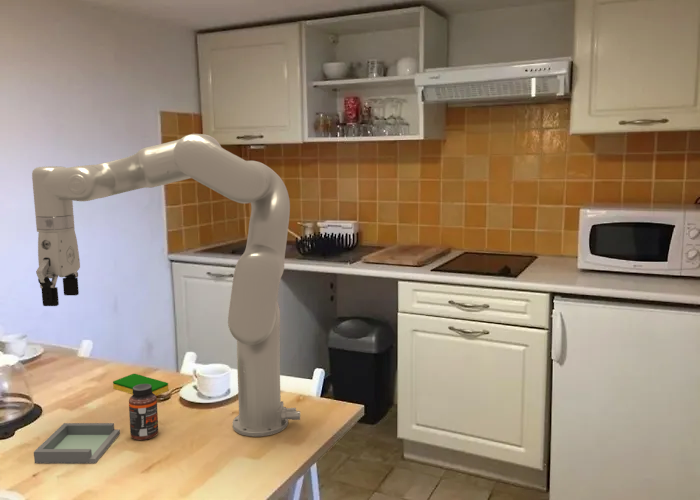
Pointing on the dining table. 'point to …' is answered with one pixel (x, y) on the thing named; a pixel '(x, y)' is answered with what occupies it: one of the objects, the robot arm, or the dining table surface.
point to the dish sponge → (135, 379)
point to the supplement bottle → (143, 413)
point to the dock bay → (77, 443)
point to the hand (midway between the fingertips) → (61, 300)
